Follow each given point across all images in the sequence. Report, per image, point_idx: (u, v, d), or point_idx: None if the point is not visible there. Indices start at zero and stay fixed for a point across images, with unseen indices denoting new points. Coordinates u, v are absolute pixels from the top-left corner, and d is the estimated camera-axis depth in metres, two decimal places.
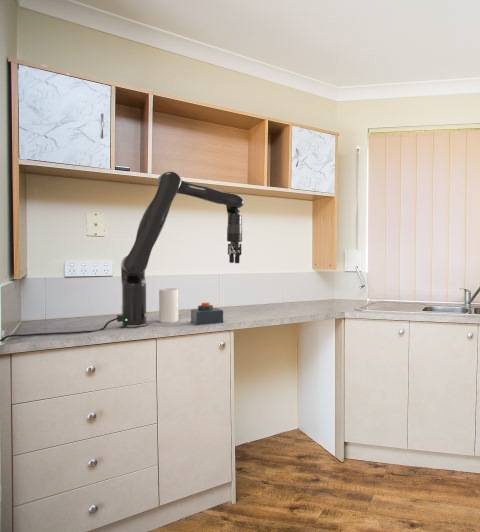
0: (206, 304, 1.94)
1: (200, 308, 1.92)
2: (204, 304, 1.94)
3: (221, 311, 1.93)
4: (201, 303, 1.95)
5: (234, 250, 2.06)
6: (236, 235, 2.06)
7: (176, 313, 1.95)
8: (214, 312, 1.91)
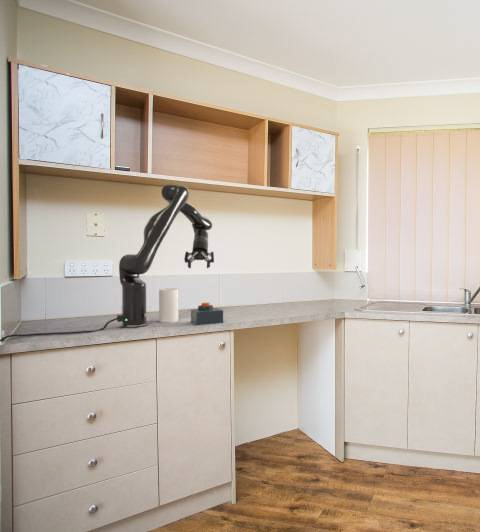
0: (206, 304, 1.94)
1: (200, 308, 1.92)
2: (204, 304, 1.94)
3: (221, 311, 1.93)
4: (201, 303, 1.95)
5: (206, 256, 2.14)
6: (207, 247, 2.19)
7: (176, 313, 1.95)
8: (214, 312, 1.91)
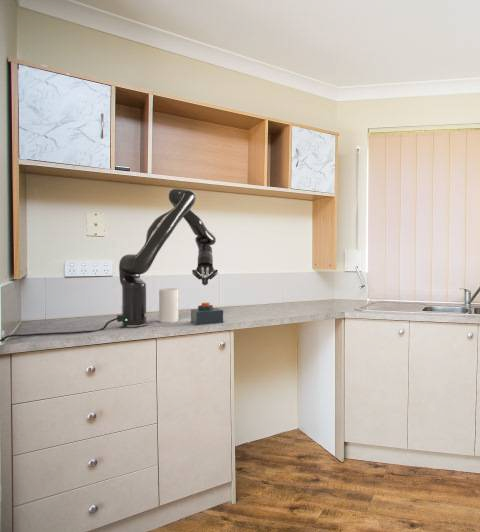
0: (206, 304, 1.94)
1: (200, 308, 1.92)
2: (204, 304, 1.94)
3: (221, 311, 1.93)
4: (201, 303, 1.95)
5: (208, 273, 2.10)
6: (212, 262, 2.17)
7: (176, 313, 1.95)
8: (214, 312, 1.91)
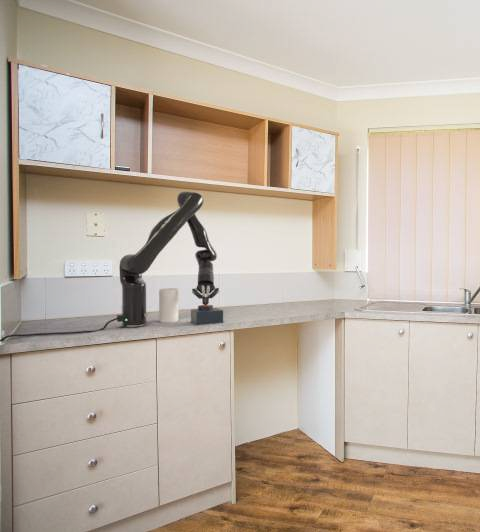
0: None
1: (200, 308, 1.92)
2: None
3: (221, 311, 1.93)
4: (201, 305, 1.95)
5: (209, 291, 1.99)
6: (213, 280, 2.06)
7: (176, 313, 1.95)
8: (214, 312, 1.91)
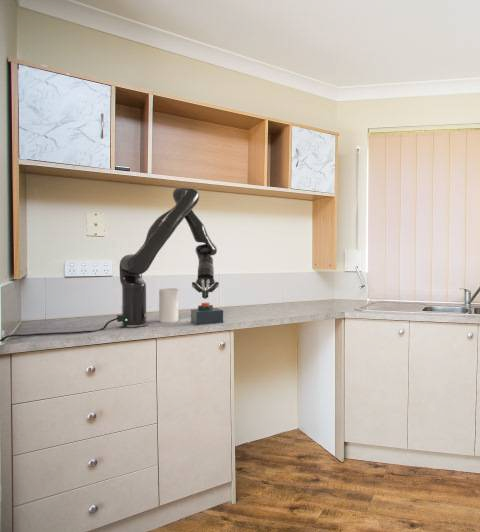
0: (206, 304, 1.94)
1: (200, 308, 1.92)
2: (204, 304, 1.94)
3: (221, 311, 1.93)
4: (201, 303, 1.95)
5: (208, 285, 1.99)
6: (213, 274, 2.06)
7: (176, 313, 1.95)
8: (214, 312, 1.91)
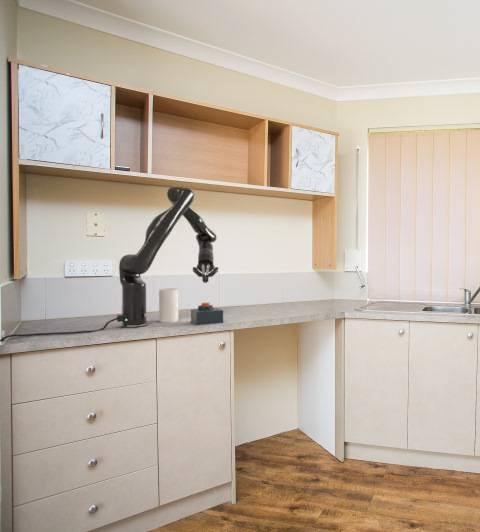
0: (206, 304, 1.94)
1: (200, 308, 1.92)
2: (204, 304, 1.94)
3: (221, 311, 1.93)
4: (201, 303, 1.95)
5: (208, 270, 2.09)
6: None
7: (176, 313, 1.95)
8: (214, 312, 1.91)
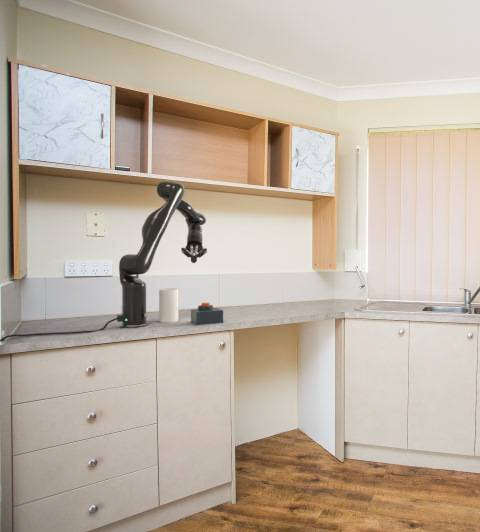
0: (206, 304, 1.94)
1: (200, 308, 1.92)
2: (204, 304, 1.94)
3: (221, 311, 1.93)
4: (201, 303, 1.95)
5: (197, 251, 2.11)
6: None
7: (176, 313, 1.95)
8: (214, 312, 1.91)
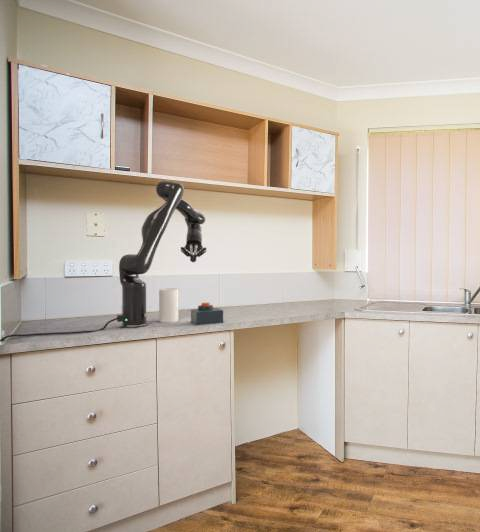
0: (206, 304, 1.94)
1: (200, 308, 1.92)
2: (204, 304, 1.94)
3: (221, 311, 1.93)
4: (201, 303, 1.95)
5: (196, 250, 2.11)
6: (201, 240, 2.18)
7: (176, 313, 1.95)
8: (214, 312, 1.91)
